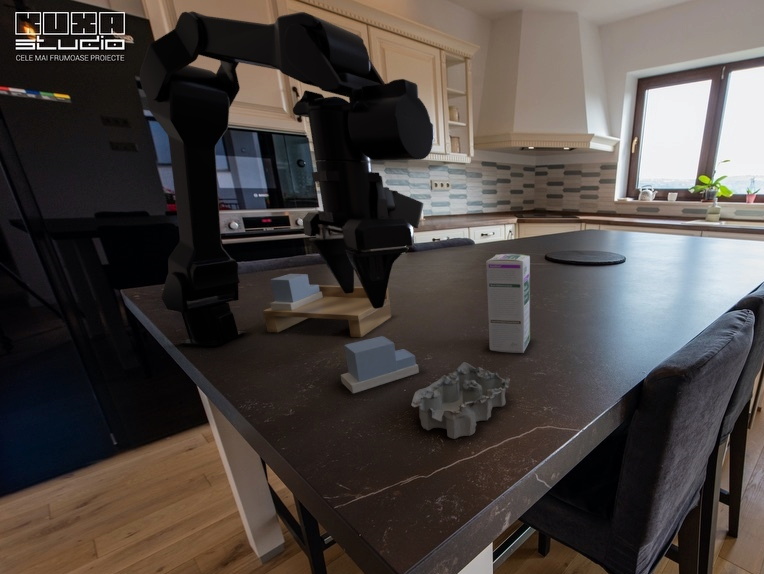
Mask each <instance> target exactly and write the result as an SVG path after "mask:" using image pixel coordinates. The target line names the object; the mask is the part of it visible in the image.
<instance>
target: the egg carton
mask: <svg viewBox="0 0 764 574" xmlns="http://www.w3.org/2000/svg"><path fill="white" fill-rule="evenodd" d="M510 381H511V378H510V377H507V376H506V377H505V378H502V377H500V375H499V373H498V372H496V371H495V372H491V371H489V370H488V369H483V368H482V367H480V366H478V367H474V366H473V365H472V364H470V363H468V362H467V361H466V362H465V361H464V362H462V363H461V364H460V365H459V366H458V367H457V368H456V369H454V371H452V372H448V375H445V374H443V375H442V376H441V377H439V379H438V380H436V381H434V382H432V383H431V384H430V385H429V386H427V387H424V388H420V389H418V390H416V391H415V392H414V394H413V398H412V400H411V406H412V407H413V408H417V407H418V411H419V412H418V415H419V420H420V425H421V427H422V429H424V430H426V431H430V430H432V429H439V428H440V429H444V430H446V436H447V438H450V439H453V440H456V439H458V438H460V437H470V436H472V435H473V434H475V432H476V429H477V428H476V427H477V422H480V421H489V418H491V417H492V410H493V408H496V407H499V408H502V407H504V406H505V405H506V402H507V401H506V391H507V389H506V388H509V387H510Z"/></svg>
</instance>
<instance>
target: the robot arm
mask: <svg viewBox="0 0 764 574" xmlns="http://www.w3.org/2000/svg"><path fill="white" fill-rule="evenodd" d="M364 42H365V41H364V39H363V38H362V37H361V36H360V35H358V34H356V33H354V32H352V31H350V30H347V29H345V28H343V27H340V26H338V25H336V24H333V23H332V22H329V21H326V20H325V19H323V18H320V17H317V16H315V15H313V14H310V13H308V12H305V11H299V12H295V13H289V14H284V15H279V16H278V17H277V18H276V20H275V23H268V24H267V23H260V22H253V21H245V20H238V19H233V18H231V19H230V18H225V17H217V16H211V15H205V14H202V13H199V12H196V11H193V10H192V11H182V12H181V13H180V15H179V16H178V19H177V21H176V24H175V26H174V28H173V29H172V30H170V31H168V32H167V33H166V34H164V35H162V36H161V37H159V38H158V39H155V40H154V41H152V42H150V44H149V45H148V46H147V50H146V53H145V55H144V58H143V61H142V63H141V67H140V69H139V82H140V86H141V89H142V91H143V93H144V95H145V98H146V103H147V107H148V110H149V112H150V114H151V115H152V116H153V118H154V119H155V120H156V122H157V123H158V125H159V126H160V127H161V129H162V130H163V132H165V134H166V135H167V138H168V139H167V140H168V146H169V154H170V164H171V172H172V180H173V190H174V199H175V208H176V215H177V225H178V226H177V227H178V234H179V242H178V243H177V244H176V246H175V248H174V249H173V251H172V252H171V253H170V255H169V256H168V258H167V259H168V260H167V265H168V267H167V269H168V270H167V271H168V272H167V273H168V274H167V275H166V279H165V282H164V285H163V288H162V293H161V296H160V297H161V300H162V301H163V303H164V305H165V307H166V309H167V310H169V311H173V312H178V313H181V316H182V319H183V324H184V326H185V329H186V333H187V336H188V338H187V339H185V340H182V341H180V345H181V346H192V347H193V346H194V347H208V348H216V347H218V346H221V345H223V344H225V343H227V342H230V341H233V340H234V339H237V338H239V337H242V336H244V335H245V334H246V333H245V331H244V330H238V327H237V324H236V319H235V315H234V312H233V311H232V310H231V306H230V302H233V301H234V302H235V301H239V300H240V299H239V284H240V283H241V282H240V278H239V263H238V261H237V259H234V258H232V257H231V256H230V254H229V253H228V252H227V251H226V250H225V248H224V247H223V245H222V233H221V219H220V217H221V216H220V201H219V187H218V169H217V154H216V153H217V152H216V147H217V144H219V141H220V140H221V139H222V137H223V136H224V134H225V133H226V131H227V130H228V128H229V122H230V121H229V120H230V109H231V106H232V104H233V102H235V101H234V100H235V99H236V97H237V96H238V94H239V91H240V90H241V89H240V88H241V87H240V83H239V78H238V74H237V67H238V65H239V63H240V64H245V65H249V66H255V67H261V68H267V69H272V70H278V71H279V72H281V73H282V74H283V75H285V76H287V77H290V78H292V79H294V80H296V81H298V82H300V83H302V84H305V85H308V86H312V87H316V88H319V89H320V90H321V92H322V91H323V92H326V93H331V94H333V95H334V94H335V95H338V96H324V95H323V94H322V93H319V92H314V91H311V90H304V91H303V94H302V96H301V98H300V99H299V100H298V101H297V102H296V103H295V104H294V106H293V108H292V113H293V114H294V116H298V117H304V118H308V123H309V128H310V136H311V141H312V148H313V153H314V154H313V155H314V161H315V167H316V171H312V172H311V177H312V182H313V183H318V186H319V192H320V198H321V204H322V210H317V211H308V212H307V213H306V214H305V216H304V217H303V218H302V220H301V221H302V227H303V232H304V236H307V237H310V238H308V240H309V242H310V243H311V245H313V247H314V249H315V250H316V251H317V253H318V255H319V256H320V257H321V259H322V261H323V262H324V263H325V265H326V267H327V268H328V269H329V271H330V272H331V274H332V276H333V277H334V279H335V281H336V282H337V284H338V286H340V287H341V288H342V290H343V291H344V293H346V294H348V293H353V292H354V287H355V274H356V276H357V278H358V281H359V282H360V284H361V287H363V289H364V291H365V293H366V295H367V297H368V299H369V301H370V303H371V305H372V306H373V308H375V309H377V308H382V307H383V306H384V301H385V296H386V291H387V288H388V285H389V281H390V276H391V273H392V269H393V264H394V263H395V261H397V259H398V258H399V257H400V256H402V254H405V253H407V252H408V250H409V247H413V246H415V235H414V229H419V226H420V222H421V218H422V214H423V208H424V205H425V204H424V202H422V201H420V200H418V199H415V198H412V197H411V196H407V195H405V194H403V193H400V192H399V191H398V190H393V189H390V187H388V186H384V181H383V176H382V175H380V172H377V171H375V172H374V171H373V165H372V161H375V162H389V161H421V160H424V159H426V158H427V157H428V156H429V155H430V154H431V152H432V149H433V145H434V140H435V130H434V129H435V128H434V124H433V123H432V121H431V117H430V114H429V111H428V108H427V107H426V106H425V103H424V102H423V101H422V100H421V98H419V87H418V84H417V83H416V82H413V81H410V80H408V79H405V78H399V79H398V78H397V79H393V80H391V81H389V82H387V83H385V81H384V80H383V78H382V77H381V75H380V73H379V72H378V70H377V69H376V67H375V65H374V64H373V62H372V60H371V59H370V55H369V52H368V48H367V46H366V44H365V43H364ZM199 56H201V57H205V58H209V59H213V60H217V61H219V62H220V65H219V67H218V69H217V71H216V73H215V72H214V71H212V70H210V69H205V68H202V67H199V66H195V65H190V64H192V63H194V62H195V61H196V60H197V59H198V58H199ZM340 96H342V97H340ZM343 97H346V98H348V100H349V101H348V100H346V99H345V98H343ZM312 237H313V238H312Z"/></svg>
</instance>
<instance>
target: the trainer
mask: <svg viewBox="0 0 764 574" xmlns="http://www.w3.org/2000/svg"><path fill="white" fill-rule="evenodd" d="M343 346H344V352H345V357H346V365H347V370H348V372H345V373H343V374H340V380H341V384H342V385H344V387H346V389H348V390H349V391H350V392H351V393H352V394H357V393H360V392H363V391H366V390H369V389H372V388H375V387H378V386H382V385H384V384H388V383H390V382H395V381H397V380H401V379H403V378H407V377H410V376H412V375H416V374H419V373H420V369H419V364H417V363H416V355H414V354H413V353H411V352H410V351H408V350H407V349H405V348H402V349H398V350H396V345H395V343H394V342H393V341H392V340H390V339H389V338H387V337H385V336H384V335H380V336H376V337H372V338H368V339H367V338H366V339H364V340H360V341H359V340H358V341H355V342H351V343H347V344H344V345H343Z"/></svg>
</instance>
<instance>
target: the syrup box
mask: <svg viewBox="0 0 764 574" xmlns="http://www.w3.org/2000/svg"><path fill="white" fill-rule="evenodd" d="M485 266H486V267H485V270H486V271H485V273H486V298H487V300H486V301H487V322H488V323H487V325H488V343H489V344H488V346H489V347H488V348H489V351H491V352H499V353H500V352H501V353H512V354H524V353H525V351H526V349H527V347H528V345H529V343H530V341H531V272H530V271H531V256H530V255H529V254H520V253H502V254H495V255H494V256H493V257H491V258H489V259H487V260H486V261H485Z"/></svg>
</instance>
